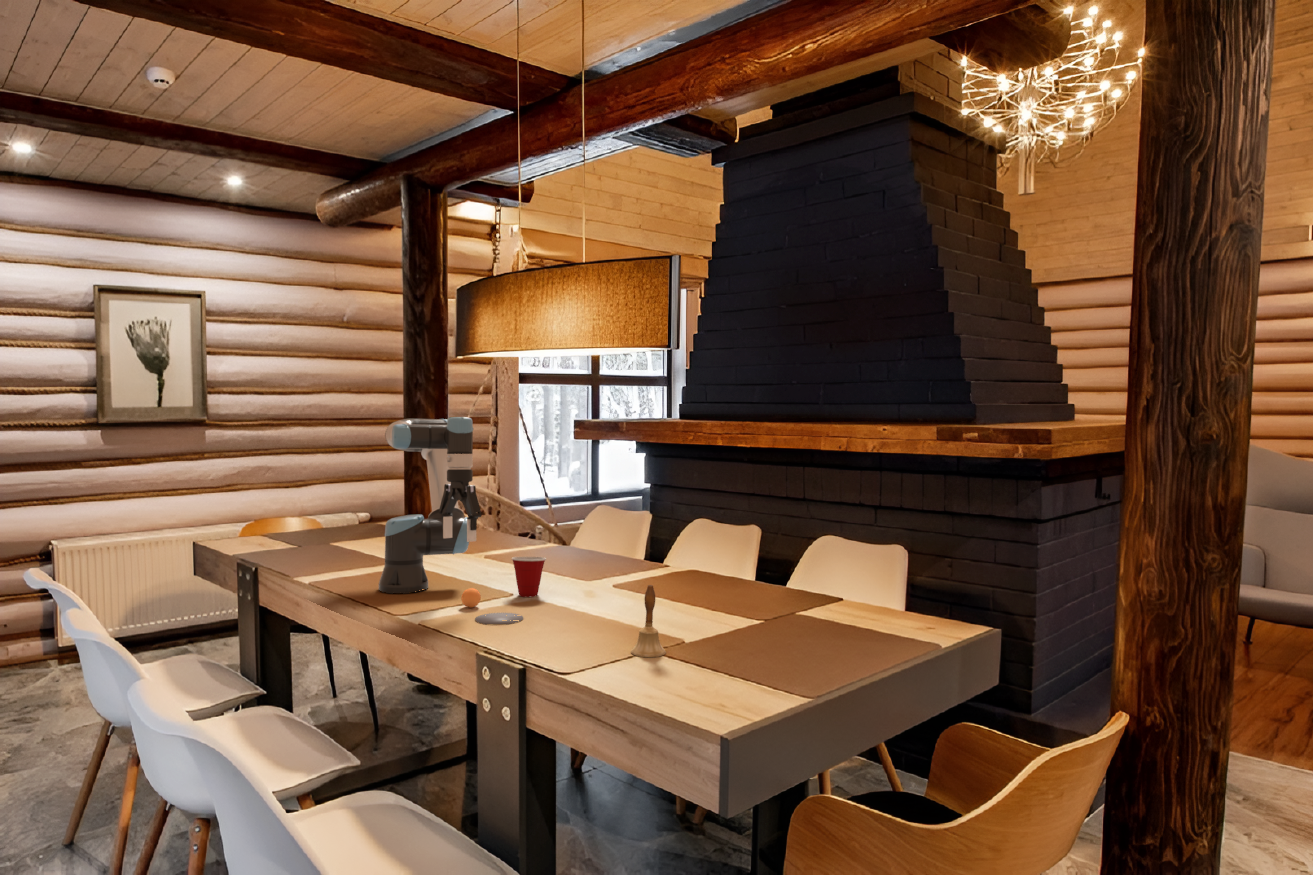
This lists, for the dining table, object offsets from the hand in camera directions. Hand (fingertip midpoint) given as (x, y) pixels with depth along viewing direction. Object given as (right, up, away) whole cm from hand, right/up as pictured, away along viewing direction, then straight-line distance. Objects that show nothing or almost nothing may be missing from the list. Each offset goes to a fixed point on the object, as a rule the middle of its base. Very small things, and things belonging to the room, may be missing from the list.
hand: (459, 539), depth 242 cm
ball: (+5, -16, -8) cm, 18 cm away
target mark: (+16, -19, -21) cm, 32 cm away
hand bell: (+57, -21, -50) cm, 79 cm away
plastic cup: (+19, -19, +10) cm, 29 cm away
